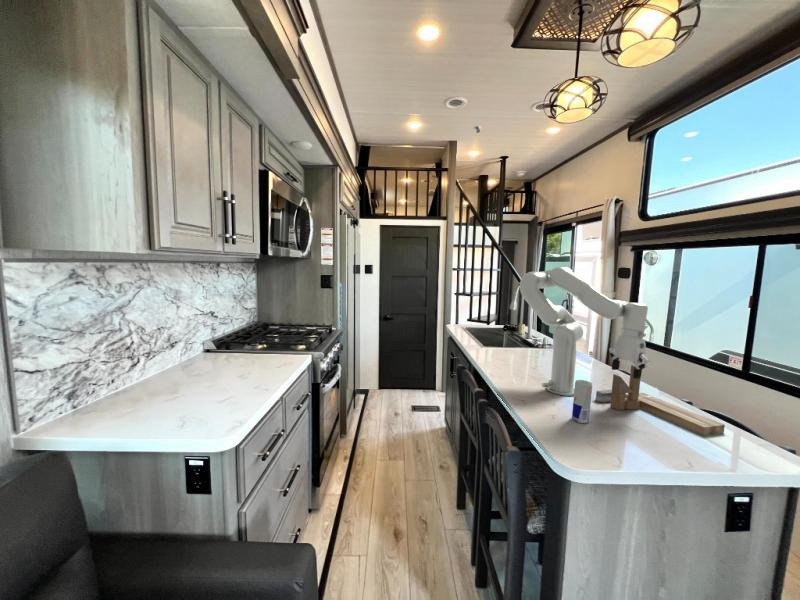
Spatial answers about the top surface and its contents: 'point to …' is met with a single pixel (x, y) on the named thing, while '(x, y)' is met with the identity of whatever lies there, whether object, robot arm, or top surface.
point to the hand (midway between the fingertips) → (625, 373)
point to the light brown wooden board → (680, 415)
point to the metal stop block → (604, 395)
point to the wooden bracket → (622, 388)
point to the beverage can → (582, 401)
